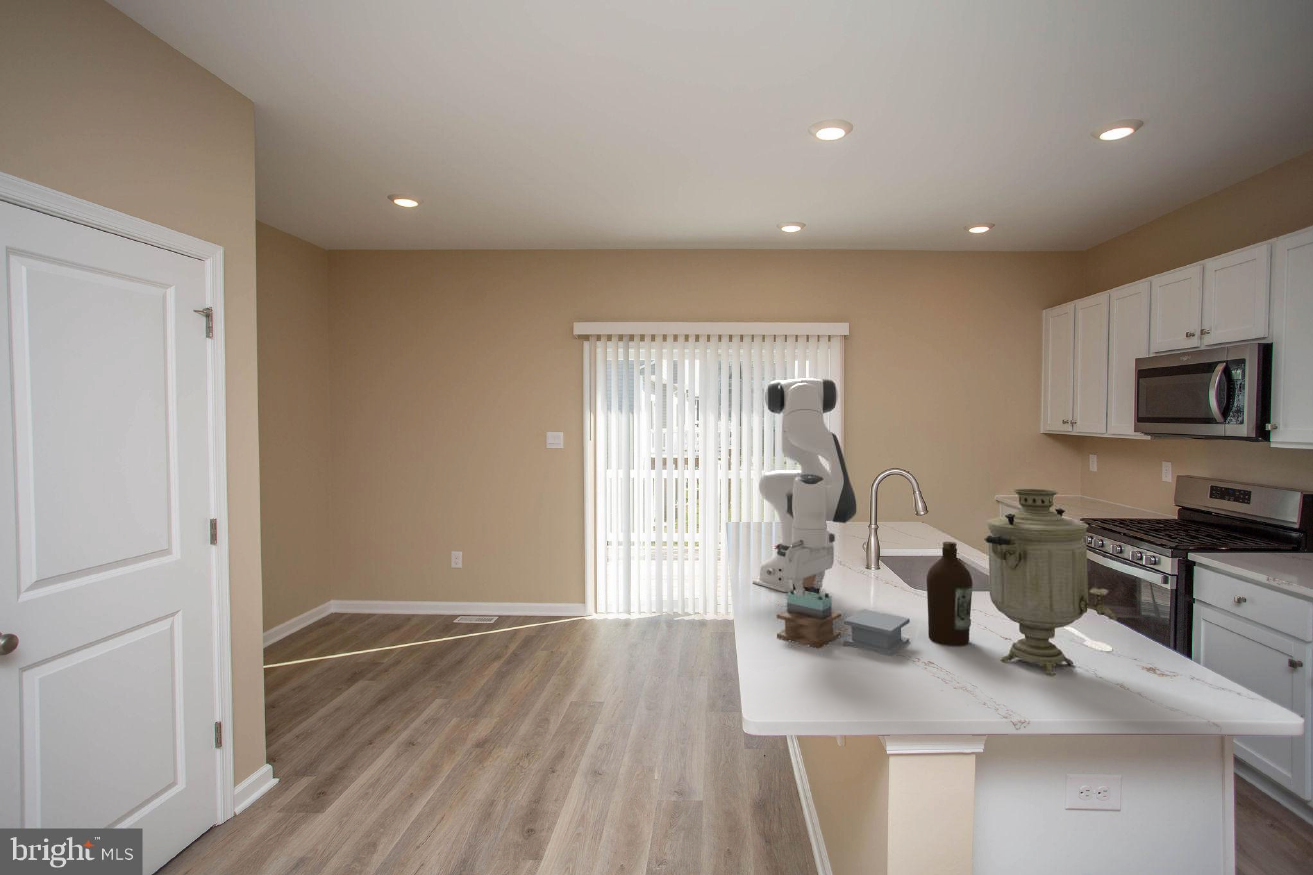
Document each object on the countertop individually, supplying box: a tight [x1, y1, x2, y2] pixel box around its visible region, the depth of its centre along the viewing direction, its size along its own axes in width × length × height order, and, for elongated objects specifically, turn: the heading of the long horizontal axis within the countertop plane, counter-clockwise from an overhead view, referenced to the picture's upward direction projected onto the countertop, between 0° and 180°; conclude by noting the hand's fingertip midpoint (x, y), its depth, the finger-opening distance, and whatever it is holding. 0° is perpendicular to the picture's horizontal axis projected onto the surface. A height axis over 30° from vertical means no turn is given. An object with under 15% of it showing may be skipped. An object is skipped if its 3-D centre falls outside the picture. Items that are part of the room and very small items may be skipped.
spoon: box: [1062, 625, 1113, 653], centre depth 162 cm, size 5×18×1 cm, turn 175°
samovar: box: [984, 488, 1117, 677], centre depth 143 cm, size 30×26×40 cm
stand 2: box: [843, 608, 910, 657], centre depth 159 cm, size 12×12×6 cm
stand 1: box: [776, 609, 842, 649], centre depth 164 cm, size 12×12×6 cm
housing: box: [786, 590, 833, 620], centre depth 164 cm, size 10×5×6 cm, turn 48°
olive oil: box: [926, 541, 973, 647], centre depth 161 cm, size 11×11×25 cm
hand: (809, 591), depth 163 cm, fingers open, 8 cm apart
